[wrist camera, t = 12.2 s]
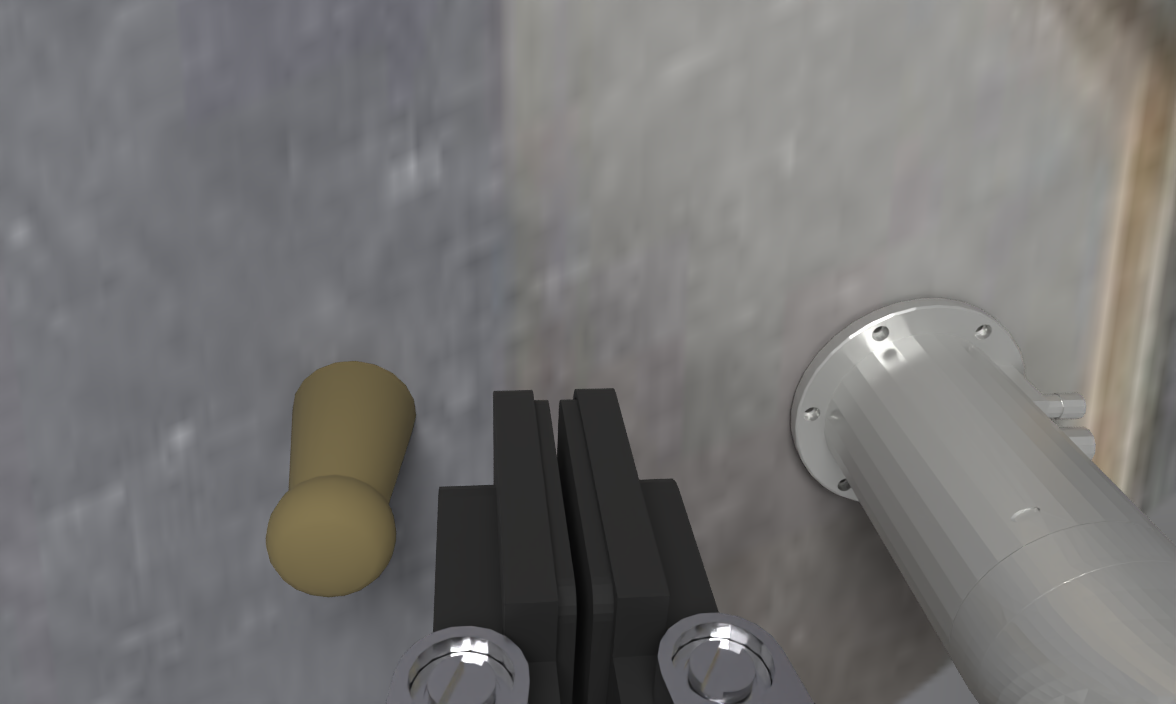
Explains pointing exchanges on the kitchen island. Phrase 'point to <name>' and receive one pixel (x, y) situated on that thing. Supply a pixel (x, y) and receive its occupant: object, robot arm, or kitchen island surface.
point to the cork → (341, 479)
